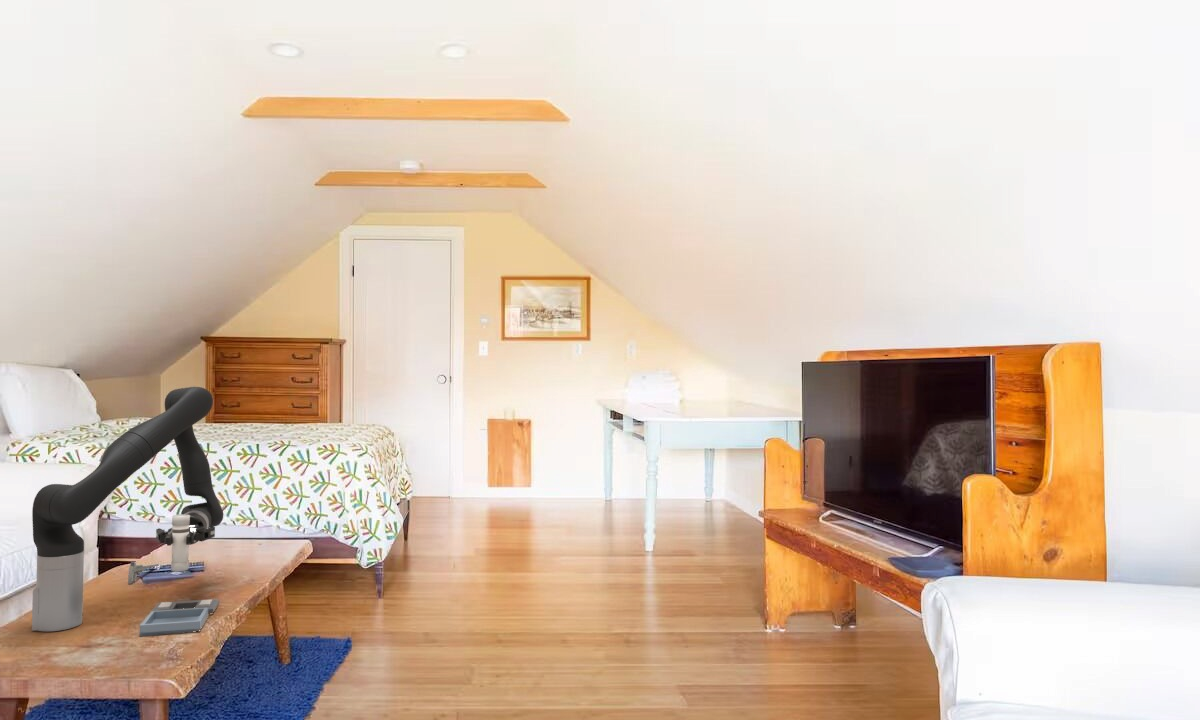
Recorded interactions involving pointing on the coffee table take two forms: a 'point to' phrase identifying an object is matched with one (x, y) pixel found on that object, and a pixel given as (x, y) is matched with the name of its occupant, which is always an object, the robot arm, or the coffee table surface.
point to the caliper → (136, 571)
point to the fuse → (180, 542)
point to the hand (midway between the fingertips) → (178, 540)
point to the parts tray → (173, 621)
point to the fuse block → (188, 605)
